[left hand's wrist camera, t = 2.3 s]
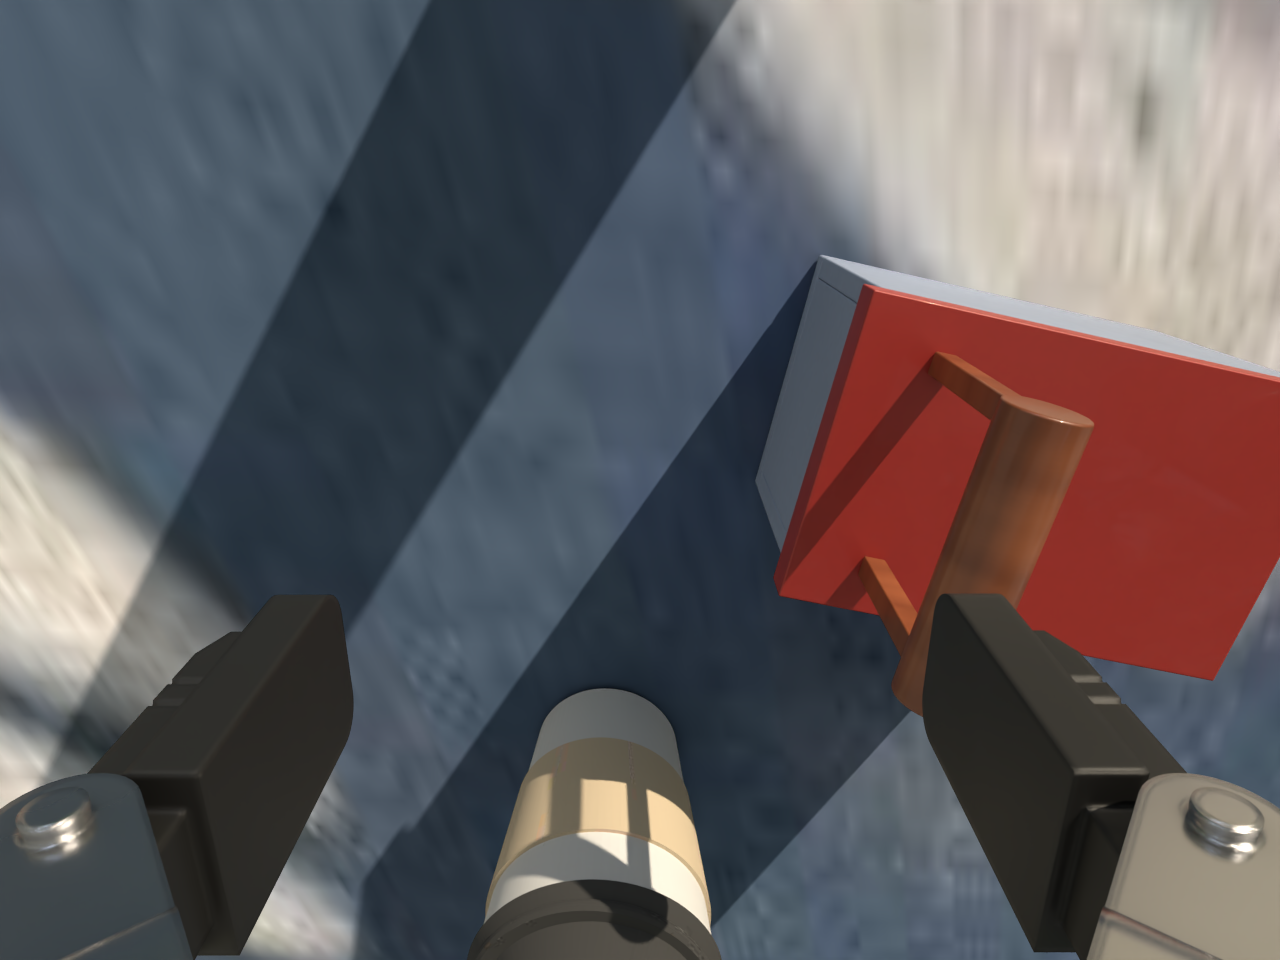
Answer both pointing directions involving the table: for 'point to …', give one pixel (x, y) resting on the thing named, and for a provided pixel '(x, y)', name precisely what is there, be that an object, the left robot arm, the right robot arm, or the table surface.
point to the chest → (825, 342)
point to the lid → (1037, 486)
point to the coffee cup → (600, 844)
